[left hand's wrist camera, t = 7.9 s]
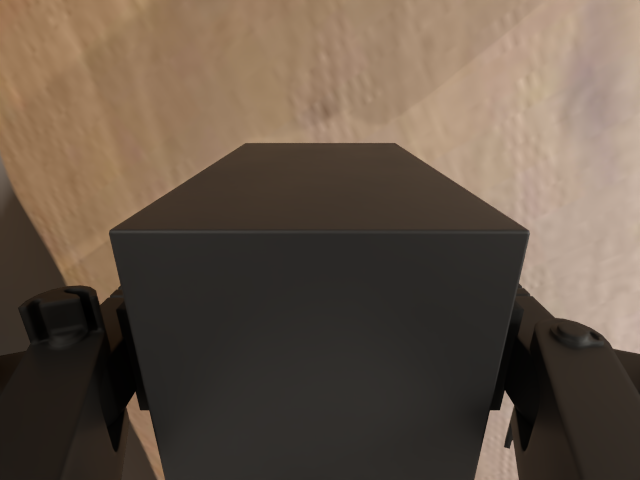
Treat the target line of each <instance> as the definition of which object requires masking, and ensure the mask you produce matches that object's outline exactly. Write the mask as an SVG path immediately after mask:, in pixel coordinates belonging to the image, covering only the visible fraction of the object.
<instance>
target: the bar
mask: <svg viewBox="0 0 640 480" xmlns="http://www.w3.org/2000/svg"><path fill="white" fill-rule="evenodd" d="M529 235H530V233H529V230H527V229H526V228H524V227H523V226H521V225H520V224H518V223H517V222H515V221H514V220H512V219H511V218H509V217H508V216H506V215H504V214H503V213H501V212H500V211H498V210H497V209H495V208H494V207H492V206H491V205H489V204H488V203H486V202H485V201H483V200H481V199H480V198H478V197H477V196H475V195H474V194H472V193H471V192H469V191H468V190H466V189H465V188H463V187H462V186H460V185H458V184H457V183H455V182H454V181H452V180H451V179H449V178H448V177H446V176H445V175H443V174H442V173H440V172H439V171H437V170H435V169H434V168H432V167H431V166H429V165H428V164H426V163H425V162H423V161H422V160H420V159H419V158H417V157H416V156H414V155H412V154H411V153H409V152H408V151H406V150H405V149H403V148H402V147H400V146H399V145H397V144H396V143H245V144H244V145H242V146H240V147H239V148H237V149H236V150H234V151H233V152H231V153H230V154H228V155H226V156H225V157H223V158H222V159H220V160H219V161H217V162H216V163H214V164H212V165H211V166H209V167H208V168H206V169H205V170H203V171H201V172H200V173H198V174H197V175H195V176H194V177H192V178H191V179H189V180H187V181H186V182H184V183H183V184H181V185H180V186H178V187H177V188H175V189H173V190H172V191H170V192H169V193H167V194H166V195H164V196H162V197H161V198H159V199H158V200H156V201H155V202H153V203H152V204H150V205H148V206H147V207H145V208H144V209H142V210H141V211H139V212H138V213H136V214H134V215H133V216H131V217H130V218H128V219H127V220H125V221H124V222H122V223H120V224H119V225H117V226H116V227H114V228H113V229H111V230H110V231H109V236H110V240H111V244H112V249H113V253H114V257H115V262H116V266H117V271H118V275H119V279H120V284H121V288H122V292H123V297H124V301H125V306H126V310H127V314H128V319H129V323H130V327H131V332H132V336H133V341H134V345H135V349H136V354H137V358H138V363H139V367H140V371H141V376H142V380H143V384H144V389H145V393H146V398H147V402H148V406H149V411H150V415H151V419H152V424H153V428H154V433H155V437H156V441H157V446H158V450H159V454H160V459H161V463H162V468H163V472H164V476H165V480H474V478H475V474H476V469H477V465H478V460H479V456H480V451H481V447H482V443H483V438H484V434H485V429H486V425H487V421H488V416H489V412H490V407H491V403H492V398H493V394H494V390H495V385H496V381H497V376H498V372H499V368H500V363H501V359H502V354H503V350H504V345H505V341H506V337H507V332H508V328H509V323H510V319H511V315H512V310H513V306H514V301H515V297H516V292H517V288H518V284H519V279H520V275H521V270H522V266H523V262H524V257H525V253H526V248H527V244H528V239H529Z"/></svg>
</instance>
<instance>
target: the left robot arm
mask: <svg viewBox="0 0 640 480" xmlns="http://www.w3.org/2000/svg"><path fill="white" fill-rule="evenodd" d="M18 309H19V312H20V315H21V318H22V320H23V323H24V326H25V329H26V331H27V334H28V337H29V340H30V343H31V344H30V346H29V347H28V349H27V351H24V352H18V353H13V354H7V355H2V356H0V480H121V477H122V471H123V464H124V457H125V449H126V443H127V436H128V429H129V417H128V412H127V408H126V406H127V404H128V403H129V401H130V399H131V398H132V396H133V395H134V393H135V391H136V395H137V399H138V403H139V407H140V410H149V406H148V402H147V398H146V393H145V389H144V384H143V380H142V376H141V371H140V367H139V363H138V358H137V354H136V349H135V345H134V341H133V336H132V332H131V327H130V323H129V319H128V314H127V310H126V306H125V301H124V297H123V292H122V288H121V286H120V287H119V288H118V290H116V291H114V292H113V293H112V294H111V295H110V298H107V299H106V300H105V301H104V302H103V303H102V304H101V305H99V301H98V297H97V293H96V290H94V289H93V288H91V287H87V286H67V287H62V288H57V289H53V290H50V291H47V292H44V293H41V294H38V295H37V296H34V297H33V298H31V299H29V300H27V301H25V302H24V303H23V304H22V305H21V306H20V307H19V308H18ZM504 391H506V393H507V394H508V396H509V397H510V399H511V401H512V402H513V404H514V408H513V412H512V416H511V420H510V424H509V427H508V431H507V435H506V439H505V445H504V447H506V448H509V449H510V445H511V442H512V440H513V442H514V449H515V456H516V462H517V469H518V476H519V480H640V354H637V353H632V352H626V351H621V350H616V349H613V348H612V347H611V345H610V343H609V342H608V341H607V340H606V339H605V338H604V337H603V336H602V335H601V334H600V333H598V332H596V331H595V330H593V329H592V328H590V327H587V326H585V325H583V324H580V323H578V322H574V321H570V320H566V319H560V318H555V317H553V316H552V315H551V314H550V313H549V312H548V311H547V310H546V309H545V308H544V307H543V306H542V305H541V304H540V303H539V302H538V301H537V300H536V299H535V298H534V297H533V296H530V294H529V293H528V292H527V291H526V290H525V289H524V288H522V286H521V285H520V284H518V288H517V292H516V297H515V301H514V306H513V310H512V315H511V319H510V323H509V328H508V332H507V337H506V341H505V345H504V350H503V354H502V359H501V363H500V368H499V372H498V376H497V381H496V385H495V390H494V394H493V398H492V403H491V407H490V410H500V407H501V403H502V399H503V395H504Z"/></svg>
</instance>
